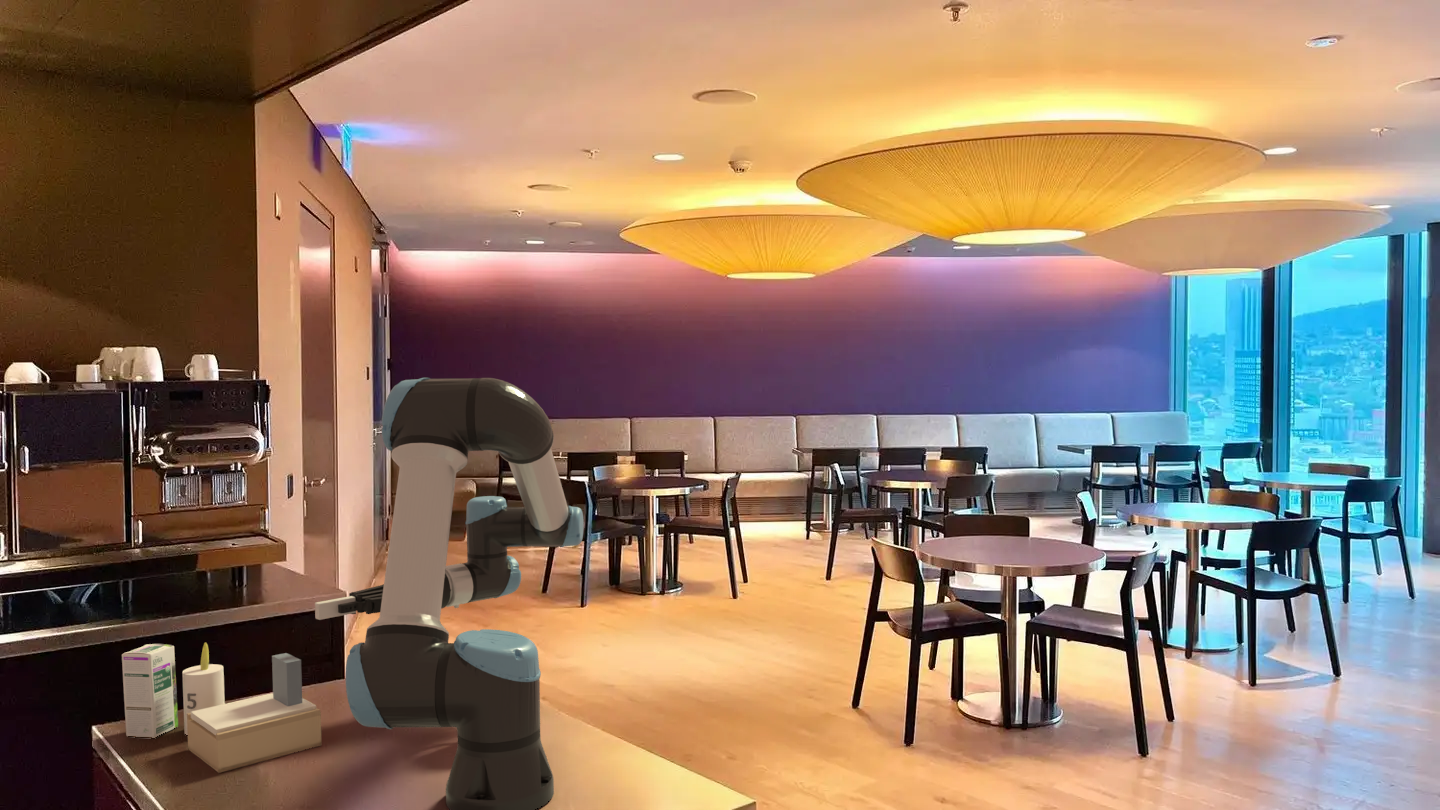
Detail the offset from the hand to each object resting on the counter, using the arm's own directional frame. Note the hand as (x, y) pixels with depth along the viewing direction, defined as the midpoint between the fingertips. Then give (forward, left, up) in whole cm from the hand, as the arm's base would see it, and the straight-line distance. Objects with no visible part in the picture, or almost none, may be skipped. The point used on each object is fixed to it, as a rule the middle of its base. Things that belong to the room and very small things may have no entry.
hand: (317, 611), depth 179 cm
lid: (-2, +11, -15) cm, 19 cm away
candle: (+11, +16, -21) cm, 29 cm away
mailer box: (-2, +11, -20) cm, 23 cm away
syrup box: (+16, +24, -21) cm, 35 cm away
